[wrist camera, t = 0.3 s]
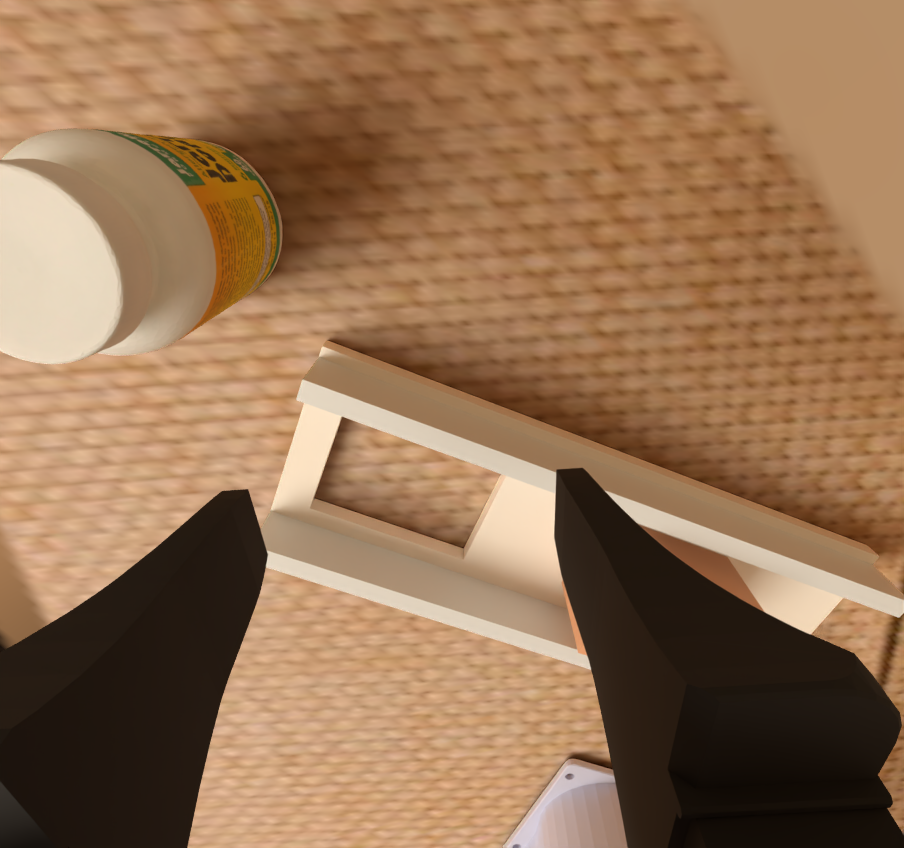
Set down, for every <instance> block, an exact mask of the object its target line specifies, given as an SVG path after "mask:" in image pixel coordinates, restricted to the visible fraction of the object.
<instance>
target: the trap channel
mask: <svg viewBox="0 0 904 848" xmlns="http://www.w3.org/2000/svg"><path fill="white" fill-rule="evenodd" d="M296 400H298V401H300V402H303V403H304V406H303V409H302V412H301V415H300V419H299V422H298V425H297V428H296V431H295V435H294V438H293V441H292V444H291V447H290V450H289V454H288V457H287V460H286V463H285V466H284V470H283V473H282V476H281V479H280V482H279V485H278V489H277V492H276V495H275V498H274V501H273V504H272V508H271V511H270V513H269V514H268V516H267V518H266V520H265V522H264V524H263V525H262V527H261V529H260V530H261V533H262V536H263V540H264V543H265V546H266V550H267V553H268V558H267V563H266V567H267V568H270V569H273V570H276V571H280V572H283V573H286V574H289V575H292V576H295V577H299V578H302V579H305V580H308V581H311V582H315V583H318V584H321V585H324V586H327V587H330V588H334V589H337V590H340V591H343V592H346V593H349V594H353V595H356V596H359V597H362V598H365V599H368V600H372V601H375V602H378V603H381V604H384V605H387V606H391V607H394V608H397V609H400V610H403V611H406V612H410V613H413V614H416V615H419V616H422V617H425V618H429V619H432V620H435V621H438V622H441V623H444V624H448V625H451V626H454V627H457V628H460V629H463V630H467V631H470V632H473V633H476V634H479V635H482V636H486V637H489V638H492V639H495V640H498V641H502V642H505V643H508V644H511V645H514V646H517V647H521V648H524V649H527V650H530V651H533V652H536V653H540V654H543V655H546V656H549V657H552V658H555V659H559V660H562V661H565V662H568V663H571V664H574V665H578V666H581V667H584V668H587V669H590V670H591V667H590V663H589V660H588V657H587V656H586V655H583V654H580V653H578V650H577V646H576V642H575V638H574V633H573V629H572V625H571V621H570V617H569V612H568V608H567V604H566V600H565V596H564V591H563V587H562V583H561V582H562V581H563V579H562V576H561V571H560V566H559V561H558V556H557V550H556V545H555V539H554V524H555V495H556V469H570V468H584V469H585V470H586V471H587V472H588V473H589V474H590V475H591V476H592V478H593V479H594V480H595V481H596V482H597V483H598V484H599V485H600V486H601V487H602V488H603V490H604V491H605V492H606V493H607V494H608V495H609V496H610V497H611V498H612V499H613V500H614V501H615V502H616V503H617V504H618V505H619V506H620V507H621V508H622V509H623V510H624V511H625V512H626V513H627V514H628V515H629V516H630V517H631V518H632V519H633V520H634V521H635V522H636V523H637V524H638V525H640V526H643V527H645V528H648V529H651V530H654V531H657V532H659V533H662V534H665V535H668V536H670V537H673V538H676V539H679V540H682V541H684V542H687V543H690V544H693V545H695V546H698V547H701V548H704V549H706V550H709V551H712V552H715V553H718V554H720V555H723V556H726V557H728V559H729V560H730V562H731V563H732V565H733V566H734V568H735V569H736V570H737V572H738V573H739V575H740V576H741V578H742V579H743V581H744V582H745V584H746V585H747V587H748V588H749V590H750V591H751V593H752V594H753V596H754V597H755V599H756V600H757V601H758V603H759V604H760V606H761V607H762V609H763V610H764V612H765V613H767V614H769V615H771V616H773V617H775V618H777V619H779V620H781V621H783V622H785V623H787V624H789V625H791V626H793V627H795V628H797V629H799V630H801V631H804V632H806V633H808V634H811V633H812V632H813V631H814V630H815V629H816V628H817V627H818V626H819V624H820V623H821V622H822V621H823V620H824V619H825V618H826V617H827V615H828V614H829V613H830V612H831V611H832V610H833V609H834V608H835V606H836V605H837V604H838V603H839V602H840V601H841V600H842V599H843V598H846V599H849V600H851V601H854V602H857V603H860V604H862V605H865V606H868V607H871V608H873V609H876V610H879V611H882V612H884V613H887V614H890V615H893V616H896V617H898V618H899V617H900V616H901V615H902V614H903V613H904V594H903V593H901V592H900V591H899V590H898V589H897V588H896V587H895V586H894V585H893V584H892V583H891V582H890V581H889V580H888V579H887V578H886V577H885V576H884V575H883V574H882V573H881V572H880V571H879V570H878V569H877V568H876V567H875V566H874V565H873V564H874V563H875V561H876V560H877V559H878V558H879V556H878V555H877V554H876V553H875V552H874V551H873V550H872V549H871V548H870V547H869V546H868V545H865V544H863V543H860V542H857V541H855V540H852V539H849V538H847V537H844V536H842V535H839V534H836V533H834V532H831V531H828V530H826V529H823V528H820V527H818V526H815V525H813V524H810V523H807V522H805V521H802V520H799V519H797V518H794V517H791V516H789V515H786V514H784V513H781V512H778V511H776V510H773V509H770V508H768V507H765V506H763V505H760V504H757V503H755V502H752V501H749V500H747V499H744V498H741V497H739V496H736V495H734V494H731V493H728V492H726V491H723V490H720V489H718V488H715V487H712V486H710V485H707V484H705V483H702V482H699V481H697V480H694V479H691V478H689V477H686V476H683V475H681V474H678V473H676V472H673V471H670V470H668V469H665V468H662V467H660V466H657V465H655V464H652V463H649V462H647V461H644V460H641V459H639V458H636V457H633V456H631V455H628V454H626V453H623V452H620V451H618V450H615V449H612V448H610V447H607V446H604V445H602V444H599V443H597V442H594V441H591V440H589V439H586V438H583V437H581V436H578V435H576V434H573V433H570V432H568V431H565V430H562V429H560V428H557V427H554V426H552V425H549V424H547V423H544V422H541V421H539V420H536V419H533V418H531V417H528V416H525V415H523V414H520V413H518V412H515V411H512V410H510V409H507V408H504V407H502V406H499V405H496V404H494V403H491V402H489V401H486V400H483V399H481V398H478V397H475V396H473V395H470V394H468V393H465V392H462V391H460V390H457V389H454V388H452V387H449V386H446V385H444V384H441V383H439V382H436V381H433V380H431V379H428V378H425V377H423V376H420V375H417V374H415V373H412V372H410V371H407V370H404V369H402V368H399V367H396V366H394V365H391V364H389V363H386V362H383V361H381V360H378V359H375V358H373V357H370V356H367V355H365V354H362V353H360V352H357V351H354V350H352V349H349V348H346V347H344V346H341V345H338V344H336V343H333V342H331V341H328V340H327V341H326V342H325V343H324V345H323V346H322V349H321V352H320V355H319V358H318V359H317V360H316V362H315V363H314V364H313V366H312V367H311V368H310V370H309V371H308V373H307V374H306V375H305V377H304V378H303V379H302V382H301V386H300V389H299V392H298V395H297V399H296ZM342 417H345V418H347V419H350V420H353V421H356V422H358V423H361V424H364V425H367V426H370V427H372V428H375V429H378V430H381V431H383V432H386V433H389V434H392V435H394V436H397V437H400V438H403V439H406V440H408V441H411V442H414V443H417V444H419V445H422V446H425V447H428V448H430V449H433V450H436V451H439V452H442V453H444V454H447V455H450V456H453V457H455V458H458V459H461V460H464V461H466V462H469V463H472V464H475V465H477V466H480V467H483V468H486V469H489V470H491V471H494V472H497V473H500V474H501V475H500V477H499V479H498V481H497V483H496V485H495V487H494V489H493V491H492V493H491V495H490V497H489V499H488V501H487V503H486V505H485V507H484V509H483V511H482V513H481V515H480V517H479V519H478V521H477V523H476V525H475V527H474V529H473V531H472V533H471V535H470V537H469V539H468V541H467V543H466V545H465V547H464V548H461V547H458V546H455V545H452V544H449V543H446V542H443V541H440V540H437V539H434V538H431V537H428V536H425V535H422V534H419V533H416V532H413V531H410V530H407V529H404V528H401V527H398V526H395V525H392V524H389V523H386V522H383V521H381V520H378V519H375V518H372V517H369V516H366V515H363V514H360V513H357V512H354V511H351V510H348V509H345V508H342V507H339V506H336V505H333V504H330V503H327V502H324V501H321V500H318V499H315V498H314V497H315V494H316V491H317V488H318V486H319V483H320V480H321V477H322V474H323V471H324V468H325V466H326V463H327V460H328V457H329V454H330V451H331V448H332V446H333V443H334V440H335V437H336V434H337V431H338V428H339V425H340V423H341V420H342Z"/></svg>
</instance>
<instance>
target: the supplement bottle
mask: <svg viewBox="0 0 904 848" xmlns="http://www.w3.org/2000/svg"><path fill="white" fill-rule="evenodd" d="M282 236H283V233H282V220H281V215H280V212H279V209H278V207H277V204H276V202H275V199H274V196H273V195H272V193H271V191H270V189H269V188H268V186H267V184H266V183H265V181H264V180H263V178H262V177H261V176H260V175H259V174H258V173H257V171H256V170H255V169H254V168H253V167H252V166H251V165H250V164H249V163H248V162H247V161H246V160H245V159H243V158H242V157H241V156H239V155H238V154H236V153H235V152H233V151H231V150H229V149H227V148H225V147H223V146H220V145H217V144H214V143H211V142H206V141H202V140H197V139H186V138H176V137H166V136H155V135H140V134H132V133H122V132H113V131H104V130H95V129H77V128H74V129H60V130H53V131H49V132H44V133H41V134H38V135H36V136H33V137H31V138H29V139H27V140H25V141H23V142H21V143H20V144H18V145H17V146H15V147H14V148H13V149H12V150H11V151H9V152H8V153H7V154H6V155H5V156H4V157H3V158H2V159H1V160H0V351H1V352H4V353H6V354H8V355H10V356H13V357H16V358H19V359H22V360H26V361H30V362H35V363H43V364H65V363H70V362H74V361H79V360H82V359H84V358H87V357H89V356H92V355H94V354H96V353H101V354H107V355H118V356H123V355H139V354H144V353H149V352H153V351H156V350H159V349H162V348H164V347H166V346H168V345H170V344H172V343H174V342H176V341H178V340H180V339H182V338H183V337H185V336H186V335H188V334H189V333H190V332H192V331H193V330H195V329H196V328H198V327H200V326H201V325H203V324H204V323H206V322H207V321H209V320H210V319H212V318H213V317H215V316H216V315H218V314H220V313H221V312H222V311H224V310H225V309H227V308H228V307H230V306H232V305H233V304H235V303H236V302H238V301H240V300H241V299H243V298H244V297H246V296H247V295H249V294H250V293H252V292H253V291H255V290H256V289H257V288H258V287H260V286H261V285H262V284H263V283H264V282H265V281H266V280H267V278H268V277H269V276H270V275H271V273H272V271H273V270H274V268H275V266H276V264H277V262H278V259H279V256H280V252H281V247H282Z"/></svg>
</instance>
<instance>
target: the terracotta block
mask: <svg viewBox="0 0 904 848" xmlns="http://www.w3.org/2000/svg"><path fill="white" fill-rule="evenodd" d="M641 527H642V528H643V529H644V530H645V531H646V532H647V533H648V534H649V535H651V536H652V537H653V538H654V539H655V540H657V541H658V542H659V543H660V544H661V545H662V546H664V547H665V548H666V549H667V550H668V551H670V552H671V553H672V554H674V555H675V556H676V557H678V558H679V559H680V560H682V561H683V562H685V563H686V564H687V565H689V566H690V567H692V568H693V569H694V570H696V571H697V572H699V573H700V574H701V575H703V576H704V577H706V578H707V579H709V580H711V581H712V582H714V583H715V584H717V585H718V586H720V587H722V588H723V589H725V590H727V591H728V592H730V593H732V594H733V595H735V596H737V597H738V598H740V599H742V600H743V601H745V602H747V603H749V604H750V605H752V606H754V607H756V608H758V609H760V610H761V611H763V612H764V610H763V609H762V607H761V606H760V604H759V603H758V601H757V600H756V599H755V597H754V596H753V594H752V593H751V591H750V590H749V588H748V587H747V585H746V584H745V582H744V581H743V579H742V578H741V576H740V575H739V573H738V572H737V570H736V569H735V568H734V566H733V565H732V563H731V562H730V560H729V559H728V557H726V556H723V555H720V554H718V553H715V552H712V551H709V550H706V549H704V548H701V547H698V546H695V545H693V544H690V543H687V542H684V541H682V540H679V539H676V538H673V537H670V536H668V535H665V534H662V533H659V532H657V531H654V530H651V529H648V528H645V527H643V526H641ZM561 583H562V587H563V591H564V596H565V600H566V604H567V608H568V612H569V617H570V621H571V625H572V629H573V633H574V638H575V642H576V646H577V650H578V653H580V654H583V655H586V656H587V653H586V650H585V647H584V644H583V641H582V638H581V635H580V632H579V629H578V626H577V623H576V620H575V616H574V613H573V610H572V607H571V604H570V601H569V598H568V595H567V592H566V588H565V585H564V582H563V581H562V582H561Z"/></svg>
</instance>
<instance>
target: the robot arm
mask: <svg viewBox="0 0 904 848" xmlns="http://www.w3.org/2000/svg"><path fill="white" fill-rule="evenodd" d="M554 539H555V545H556V550H557V556H558V561H559V566H560V571H561V576H562V579H563V582H564V585H565V588H566V592H567V595H568V598H569V601H570V604H571V607H572V610H573V613H574V616H575V620H576V623H577V626H578V629H579V632H580V635H581V638H582V641H583V644H584V647H585V650H586V653H587V657H588V660H589V663H590V667H591V670H592V674H593V678H594V682H595V686H596V691H597V696H598V700H599V705H600V709H601V714H602V719H603V723H604V728H605V733H606V738H607V743H608V748H609V753H610V758H611V762H612V767H613V770H612V769H609V768H606V767H602V766H599V765H595V764H592V763H588V762H585V761H581V760H578V759H569V760H567V761H566V762H565V763H564V764H563V766H562V767H561V768H560V770H559V771H558V772H557V774H556V775H555V776H554V778H553V779H552V780H551V782H550V783H549V785H548V786H547V787H546V789H545V790H544V791H543V793H542V794H541V795H540V797H539V798H538V799H537V801H536V802H535V803H534V805H533V806H532V808H531V809H530V810H529V812H528V813H527V814H526V816H525V817H524V818H523V820H522V821H521V822H520V824H519V825H518V827H517V828H516V829H515V831H514V832H513V833H512V835H511V836H510V837H509V839H508V840H507V841H506V843H505V844H504V846H503V847H502V848H904V830H903V831H902V832H901V830H900V828H899V827H898V825H897V824H896V822H895V820H894V819H893V817H892V816H891V814H890V812H889V811H888V809H887V808H890V807H891V805H892V804H893V802H892V797H891V795H890V793H889V792H888V790H887V789H886V787H885V786H884V784H883V783H882V781H881V779H880V778H879V776H878V774H879V772H880V770H881V768H882V767H883V765H884V763H885V761H886V760H887V758H888V756H889V754H890V753H891V751H892V749H893V747H894V746H895V744H896V741H897V738H898V735H899V733H900V730H901V726H902V723H901V717H900V712H899V711H898V710H897V708H896V707H895V705H894V704H893V703H892V701H891V700H890V699H889V697H888V696H887V695H886V693H885V692H884V690H883V689H882V687H881V686H880V685H879V683H878V682H877V681H876V679H875V678H874V676H873V675H872V674H871V673H870V672H869V670H868V669H867V668H866V667H865V666H864V665H863V663H862V662H861V661H860V660H859V659H858V657H857V656H856V655H855V654H854V653H852V652H850V651H847V650H845V649H843V648H840V647H838V646H836V645H833V644H831V643H829V642H827V641H824V640H822V639H820V638H817V637H815V636H813V635H811V634H808V633H806V632H804V631H801V630H799V629H797V628H795V627H793V626H791V625H789V624H787V623H785V622H783V621H781V620H779V619H777V618H775V617H773V616H771V615H769V614H767V613H765V612H763V611H761V610H760V609H758V608H756V607H754V606H752V605H750V604H749V603H747V602H745V601H743V600H742V599H740V598H738V597H737V596H735V595H733V594H732V593H730V592H728V591H727V590H725V589H723V588H722V587H720V586H718V585H717V584H715V583H714V582H712V581H711V580H709V579H707V578H706V577H704V576H703V575H701V574H700V573H699V572H697V571H696V570H694V569H693V568H692V567H690V566H689V565H687V564H686V563H685V562H683V561H682V560H680V559H679V558H678V557H676V556H675V555H674V554H672V553H671V552H670V551H668V550H667V549H666V548H665V547H664V546H662V545H661V544H660V543H659V542H658V541H657V540H655V539H654V538H653V537H652V536H651V535H649V534H648V533H647V532H646V531H645V530H644V529H643V528H642V527H641V526H640V525H638V524H637V523H636V522H635V521H634V520H633V519H632V518H631V517H630V516H629V515H628V514H627V513H626V512H625V511H624V510H623V509H622V508H621V507H620V506H619V505H618V504H617V503H616V502H615V501H614V500H613V499H612V498H611V497H610V496H609V495H608V494H607V493H606V492H605V491H604V490H603V488H602V487H601V486H600V485H599V484H598V483H597V482H596V481H595V480H594V479H593V478H592V476H591V475H590V474H589V473H588V472H587V471H586V470H585V469H584V468H570V469H556V495H555V524H554ZM267 558H268V553H267V550H266V546H265V543H264V540H263V536H262V533H261V530H260V527H259V523H258V520H257V517H256V514H255V510H254V507H253V504H252V501H251V497H250V494H249V491H248V489H246V490H231V491H222V492H221V493H219V494H218V495H217V496H215V497H214V498H213V499H212V500H211V501H209V502H208V503H207V504H206V505H205V506H204V507H202V508H201V509H200V510H199V511H198V512H197V513H196V514H194V515H193V516H192V517H191V518H190V519H189V520H188V521H186V522H185V523H184V524H183V525H182V526H181V527H180V528H178V529H177V530H176V531H175V532H174V533H173V534H171V535H170V536H169V537H168V538H167V539H166V540H164V541H163V542H162V543H161V544H160V545H159V546H157V547H156V548H155V549H154V550H153V551H151V552H150V553H149V554H148V555H146V556H145V557H144V558H143V559H141V560H140V561H139V562H138V563H136V564H135V565H134V566H132V567H131V568H130V569H129V570H127V571H126V572H125V573H124V574H122V575H121V576H120V577H119V578H117V579H116V580H115V581H113V582H112V583H111V584H109V585H108V586H106V587H105V588H104V589H102V590H101V591H99V592H98V593H97V594H95V595H94V596H92V597H91V598H89V599H88V600H86V601H85V602H83V603H82V604H80V605H79V606H77V607H76V608H74V609H73V610H71V611H70V612H68V613H67V614H65V615H64V616H62V617H60V618H59V619H57V620H55V621H54V622H52V623H50V624H49V625H47V626H45V627H43V628H42V629H40V630H38V631H37V632H35V633H33V634H32V635H30V636H29V637H27V638H25V639H23V640H22V641H20V642H18V643H17V644H15V645H13V646H11V647H9V648H7V649H6V650H4V651H2V652H0V848H187V846H188V841H189V836H190V831H191V827H192V822H193V817H194V812H195V807H196V802H197V797H198V792H199V788H200V784H201V779H202V775H203V771H204V766H205V762H206V758H207V754H208V749H209V745H210V741H211V737H212V733H213V729H214V726H215V722H216V718H217V714H218V710H219V706H220V703H221V699H222V696H223V693H224V690H225V687H226V684H227V681H228V678H229V676H230V673H231V670H232V668H233V665H234V662H235V660H236V657H237V654H238V652H239V649H240V646H241V644H242V641H243V638H244V636H245V633H246V630H247V628H248V625H249V622H250V619H251V617H252V614H253V611H254V608H255V606H256V603H257V600H258V597H259V594H260V590H261V586H262V582H263V578H264V573H265V568H266V563H267Z"/></svg>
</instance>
